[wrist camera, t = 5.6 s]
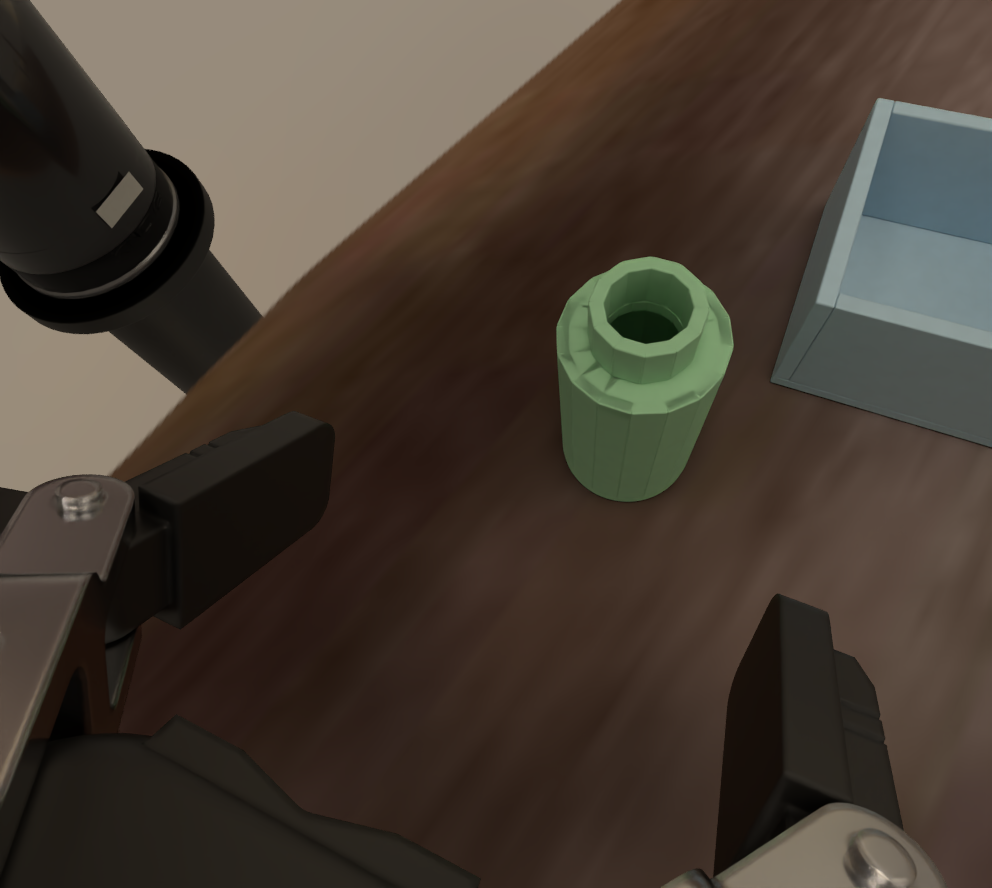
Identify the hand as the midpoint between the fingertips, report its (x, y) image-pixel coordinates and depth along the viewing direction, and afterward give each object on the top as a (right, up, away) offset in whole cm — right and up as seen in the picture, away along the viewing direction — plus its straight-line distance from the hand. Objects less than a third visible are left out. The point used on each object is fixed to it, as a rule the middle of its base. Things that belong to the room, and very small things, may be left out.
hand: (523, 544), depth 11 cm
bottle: (+5, +2, +14) cm, 15 cm away
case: (+16, +7, +15) cm, 23 cm away
